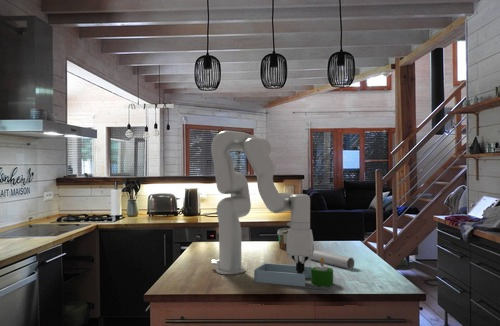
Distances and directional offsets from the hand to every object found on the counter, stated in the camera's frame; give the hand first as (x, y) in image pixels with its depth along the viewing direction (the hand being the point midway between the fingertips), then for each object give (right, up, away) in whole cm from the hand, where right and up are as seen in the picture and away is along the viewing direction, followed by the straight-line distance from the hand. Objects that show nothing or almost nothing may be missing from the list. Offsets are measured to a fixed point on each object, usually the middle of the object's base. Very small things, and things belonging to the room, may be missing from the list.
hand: (300, 272), depth 162 cm
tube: (+17, -4, +28) cm, 33 cm away
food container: (-1, -3, +64) cm, 64 cm away
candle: (+8, -4, -3) cm, 9 cm away
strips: (+7, -3, -3) cm, 8 cm away
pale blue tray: (-6, -3, +2) cm, 8 cm away
